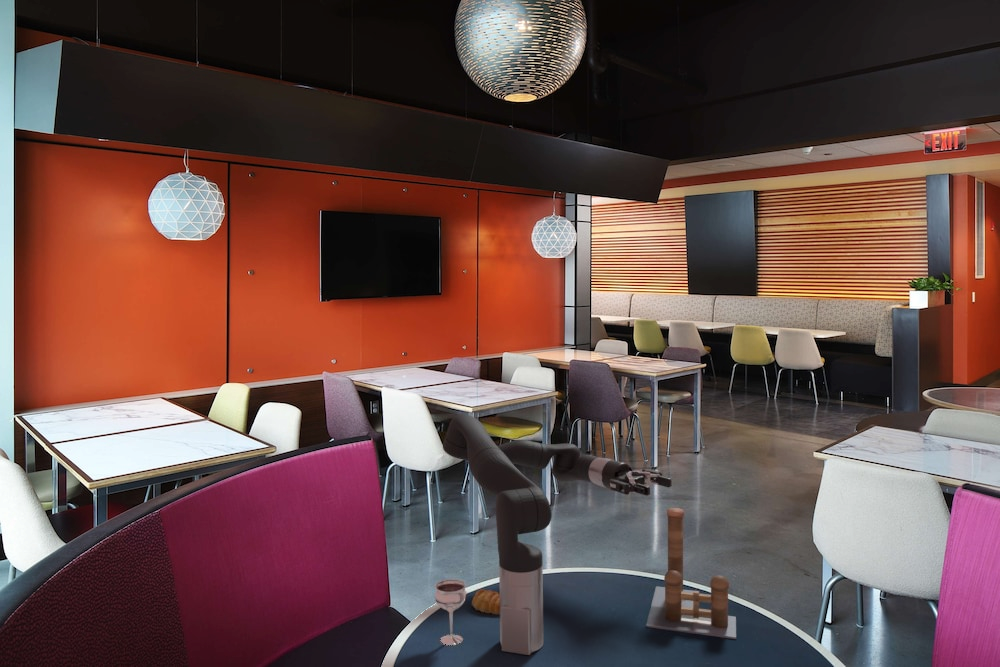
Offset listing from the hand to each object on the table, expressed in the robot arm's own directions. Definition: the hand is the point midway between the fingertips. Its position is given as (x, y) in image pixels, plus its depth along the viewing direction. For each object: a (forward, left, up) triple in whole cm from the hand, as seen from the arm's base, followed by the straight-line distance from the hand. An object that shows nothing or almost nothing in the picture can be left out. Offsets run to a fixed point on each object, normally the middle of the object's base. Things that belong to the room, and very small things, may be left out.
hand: (659, 487), depth 170 cm
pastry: (-19, +38, -27) cm, 50 cm away
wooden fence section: (-5, -4, -26) cm, 27 cm away
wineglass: (-36, +41, -27) cm, 61 cm away
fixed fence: (-13, -9, -27) cm, 31 cm away
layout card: (-8, -8, -27) cm, 29 cm away
